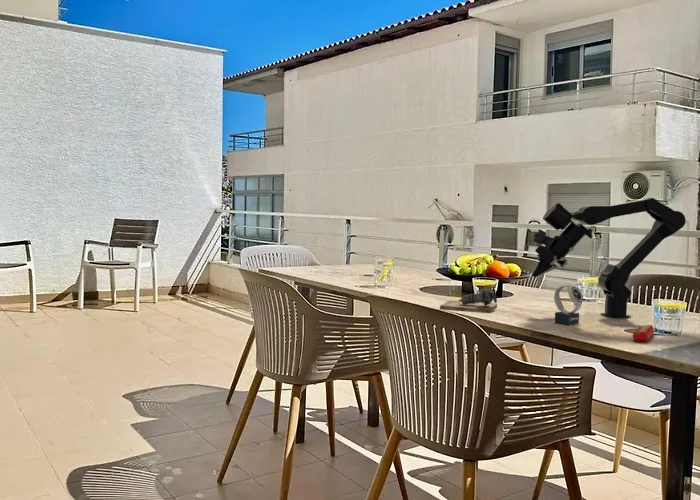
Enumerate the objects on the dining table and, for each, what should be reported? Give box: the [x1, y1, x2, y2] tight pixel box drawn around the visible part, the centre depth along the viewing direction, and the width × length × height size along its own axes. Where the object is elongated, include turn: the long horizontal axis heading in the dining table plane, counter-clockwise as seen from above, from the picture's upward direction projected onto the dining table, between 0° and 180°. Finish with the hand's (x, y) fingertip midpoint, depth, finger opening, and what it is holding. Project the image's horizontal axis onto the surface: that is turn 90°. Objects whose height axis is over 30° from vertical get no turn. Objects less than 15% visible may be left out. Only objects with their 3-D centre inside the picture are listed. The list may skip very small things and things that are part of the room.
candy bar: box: [632, 324, 655, 343], centre depth 171 cm, size 16×4×3 cm, turn 149°
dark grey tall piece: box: [458, 287, 498, 306], centre depth 216 cm, size 6×6×12 cm
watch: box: [553, 284, 584, 326], centre depth 190 cm, size 6×8×11 cm
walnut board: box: [439, 299, 498, 313], centre depth 217 cm, size 16×14×1 cm
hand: (533, 276), depth 210 cm, fingers closed
